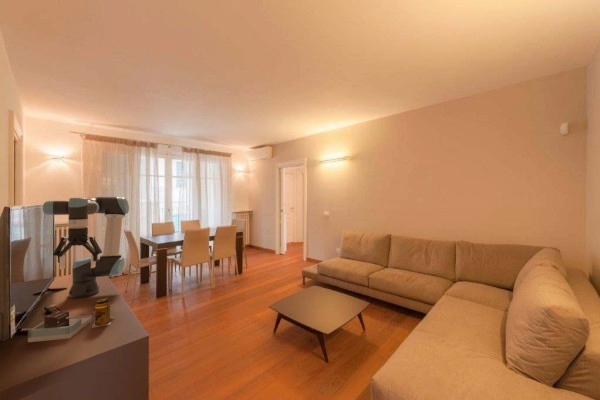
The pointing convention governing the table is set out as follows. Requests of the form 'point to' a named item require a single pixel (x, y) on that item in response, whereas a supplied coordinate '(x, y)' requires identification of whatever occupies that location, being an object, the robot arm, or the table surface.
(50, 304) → the table surface
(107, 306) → the condiment
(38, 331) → the tray
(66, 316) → the box
